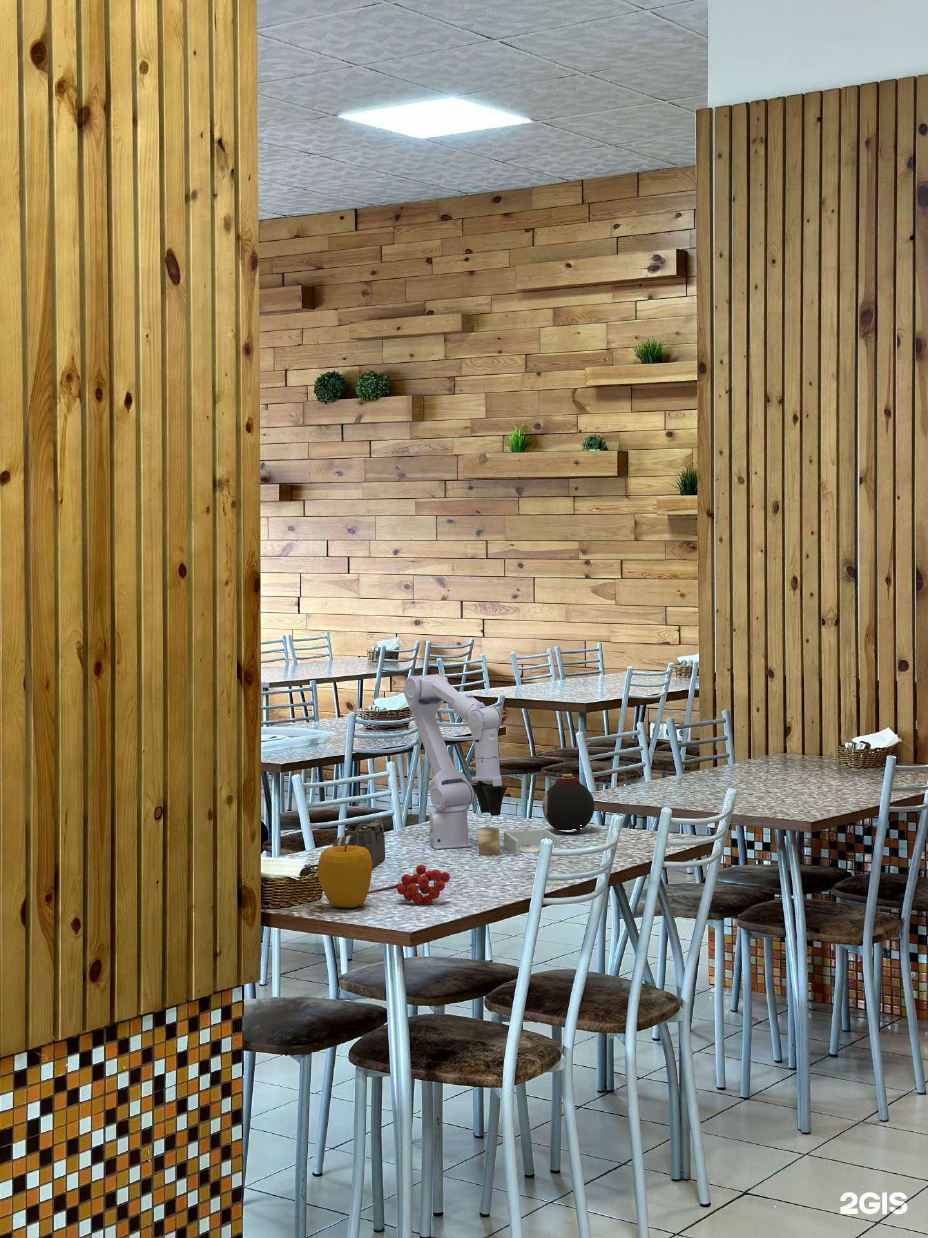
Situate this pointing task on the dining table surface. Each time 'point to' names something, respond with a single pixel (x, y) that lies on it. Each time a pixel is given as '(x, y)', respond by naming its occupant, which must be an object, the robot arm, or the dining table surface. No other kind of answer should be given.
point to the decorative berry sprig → (420, 885)
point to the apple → (345, 875)
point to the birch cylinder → (488, 841)
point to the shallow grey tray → (528, 840)
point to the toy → (568, 804)
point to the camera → (367, 840)
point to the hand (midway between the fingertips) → (490, 814)
